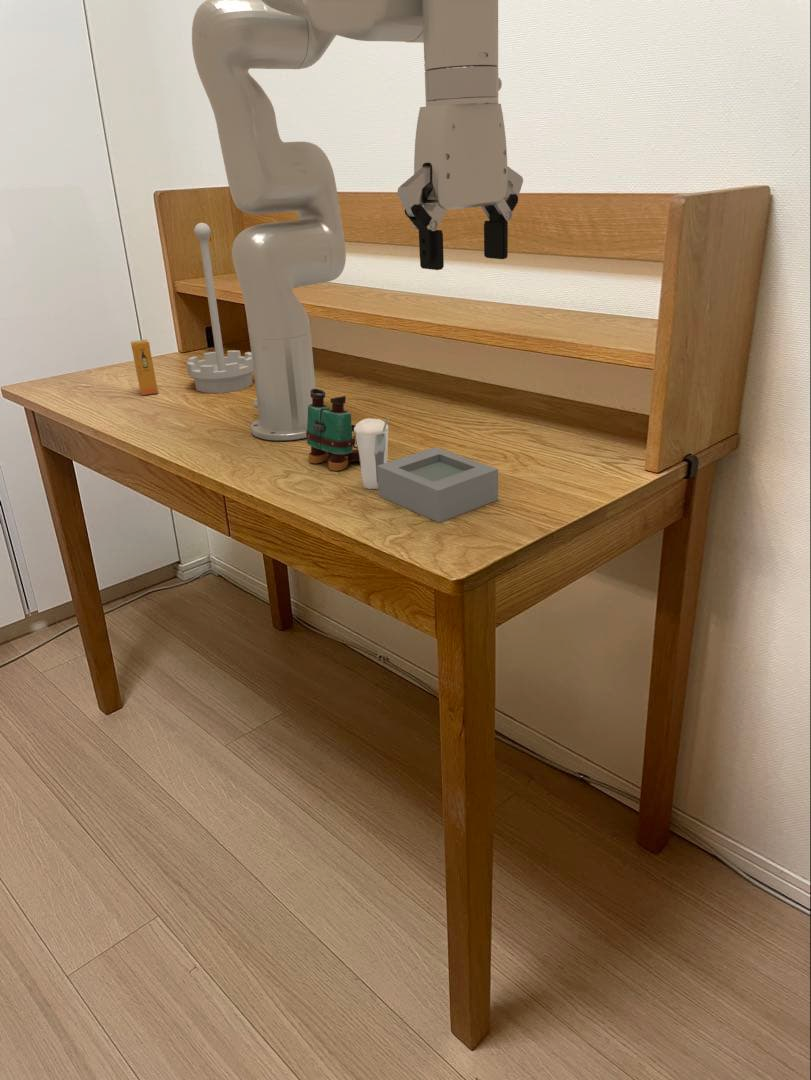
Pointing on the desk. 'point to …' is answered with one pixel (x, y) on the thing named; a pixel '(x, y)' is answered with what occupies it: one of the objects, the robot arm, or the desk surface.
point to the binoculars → (330, 432)
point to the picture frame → (438, 483)
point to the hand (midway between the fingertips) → (464, 263)
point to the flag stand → (217, 342)
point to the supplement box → (144, 367)
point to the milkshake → (371, 448)
